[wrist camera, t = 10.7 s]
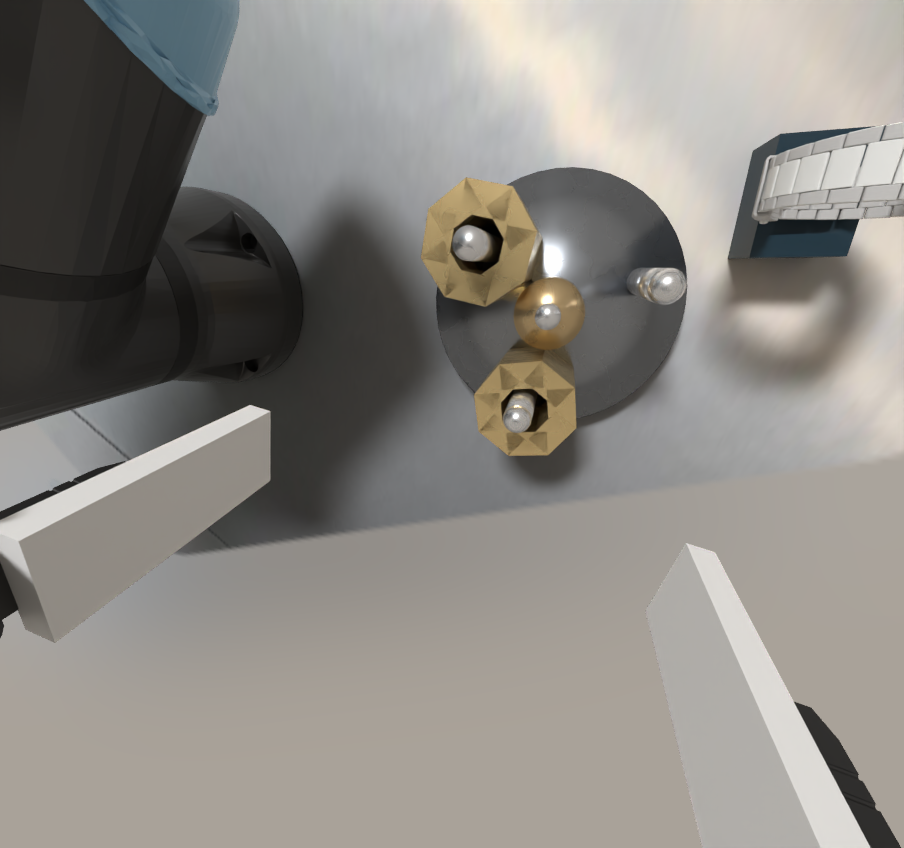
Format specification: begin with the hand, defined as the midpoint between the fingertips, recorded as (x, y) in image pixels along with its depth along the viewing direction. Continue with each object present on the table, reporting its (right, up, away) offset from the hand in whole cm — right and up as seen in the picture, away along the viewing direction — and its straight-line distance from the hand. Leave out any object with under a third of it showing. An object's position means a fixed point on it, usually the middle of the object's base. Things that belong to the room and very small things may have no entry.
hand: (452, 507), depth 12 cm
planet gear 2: (+6, +5, +16) cm, 18 cm away
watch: (+19, +15, +10) cm, 26 cm away
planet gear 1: (+3, +14, +13) cm, 20 cm away
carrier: (+7, +11, +15) cm, 20 cm away
